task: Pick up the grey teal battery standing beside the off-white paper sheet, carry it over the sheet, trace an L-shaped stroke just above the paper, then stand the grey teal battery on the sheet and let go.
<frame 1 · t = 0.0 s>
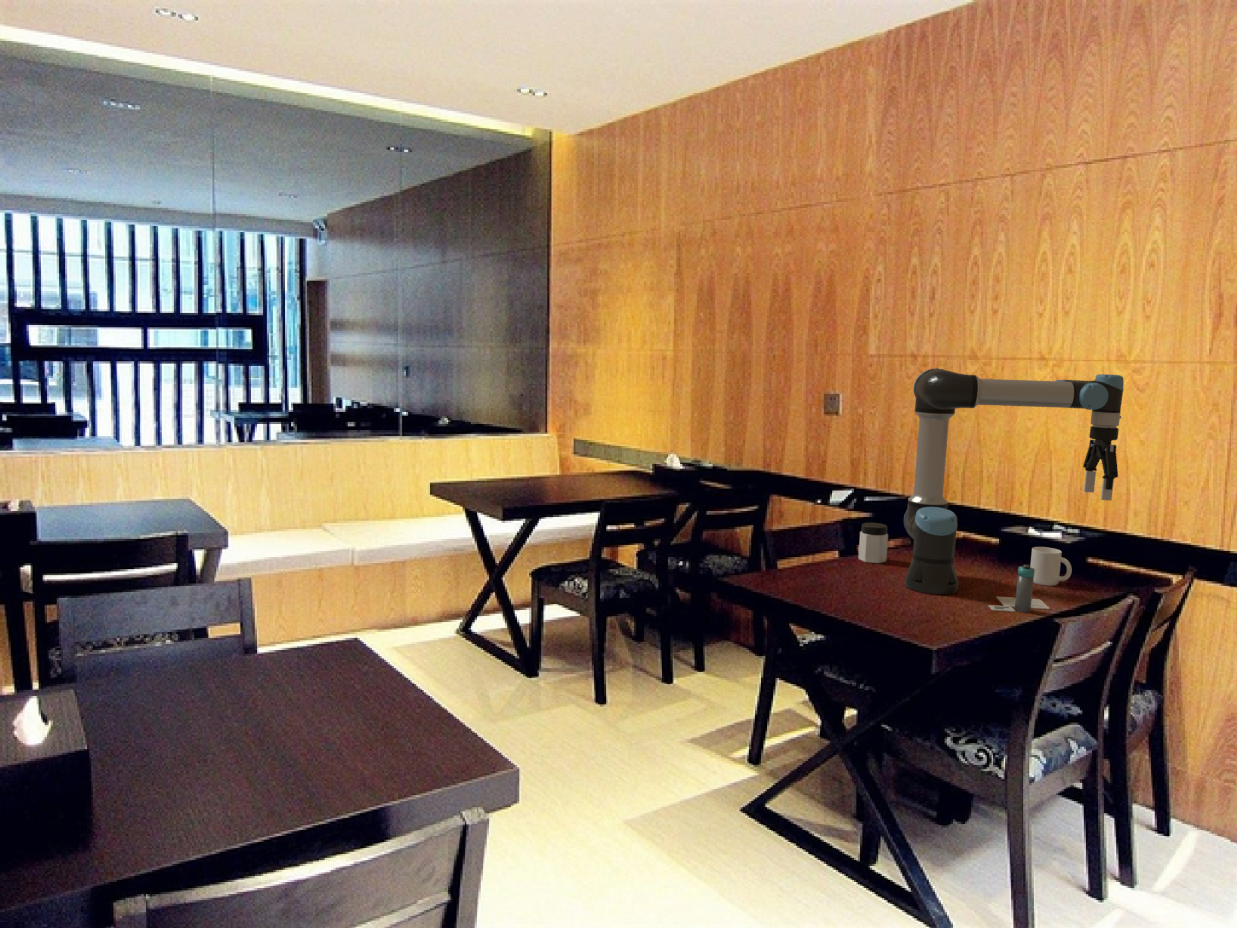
hand: (1097, 496, 272), 28 cm above the table, fingers open, 13 cm apart
paper: (1022, 603, 256), on the table
word card: (1001, 608, 250), on the table
grey teal battery: (1022, 610, 249), on the table
mug: (1049, 584, 277), on the table
jar: (872, 560, 301), on the table
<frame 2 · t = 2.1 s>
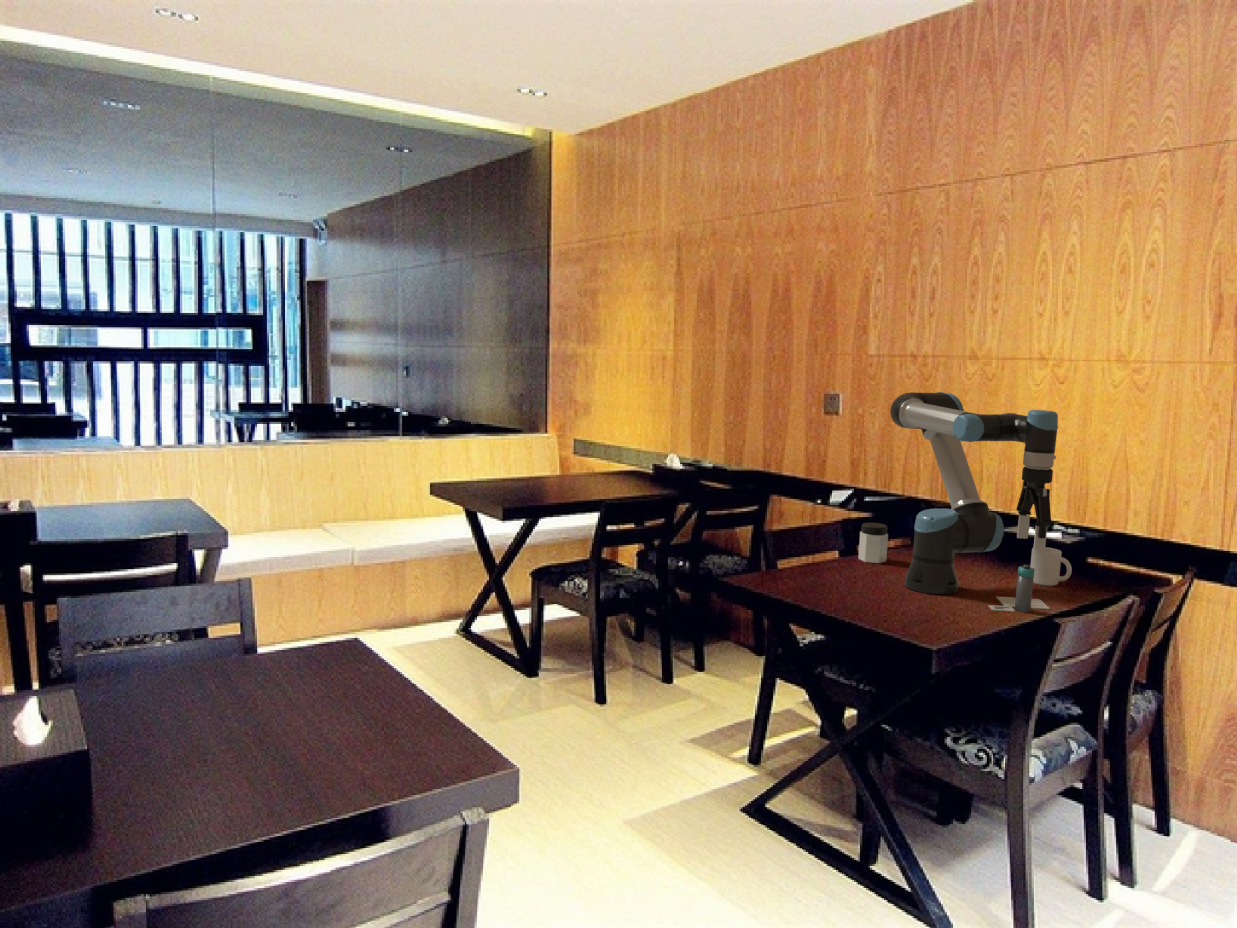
hand: (1030, 543, 247), 19 cm above the table, fingers open, 13 cm apart
nothing on the table moved.
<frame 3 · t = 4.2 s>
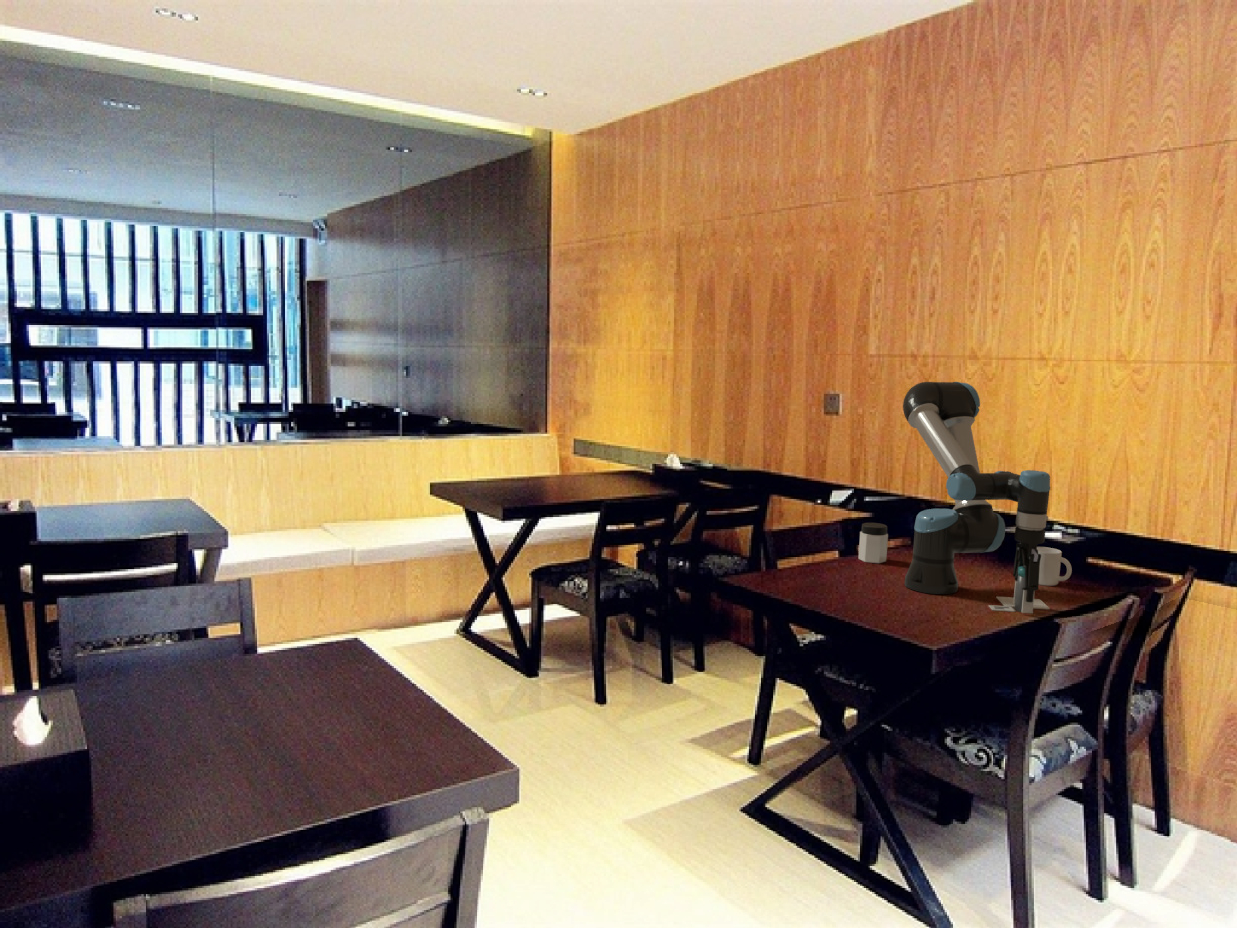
hand: (1022, 608, 249), 1 cm above the table, fingers open, 7 cm apart
nothing on the table moved.
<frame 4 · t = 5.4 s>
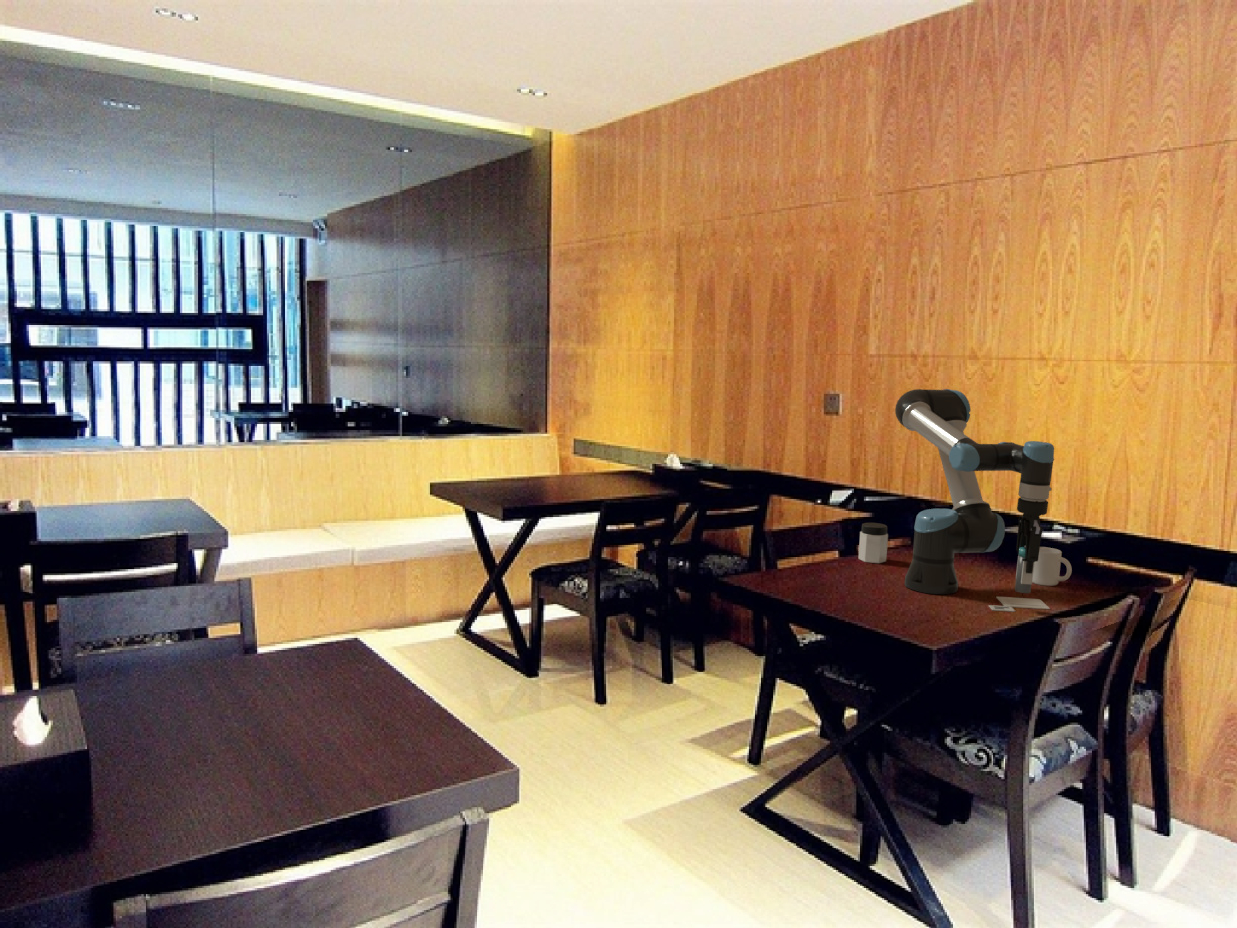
hand: (1023, 581, 249), 8 cm above the table, fingers closed on grey teal battery, 4 cm apart
grey teal battery: (1022, 590, 249), point 5 cm above the table, touching gripper
everything else where it was.
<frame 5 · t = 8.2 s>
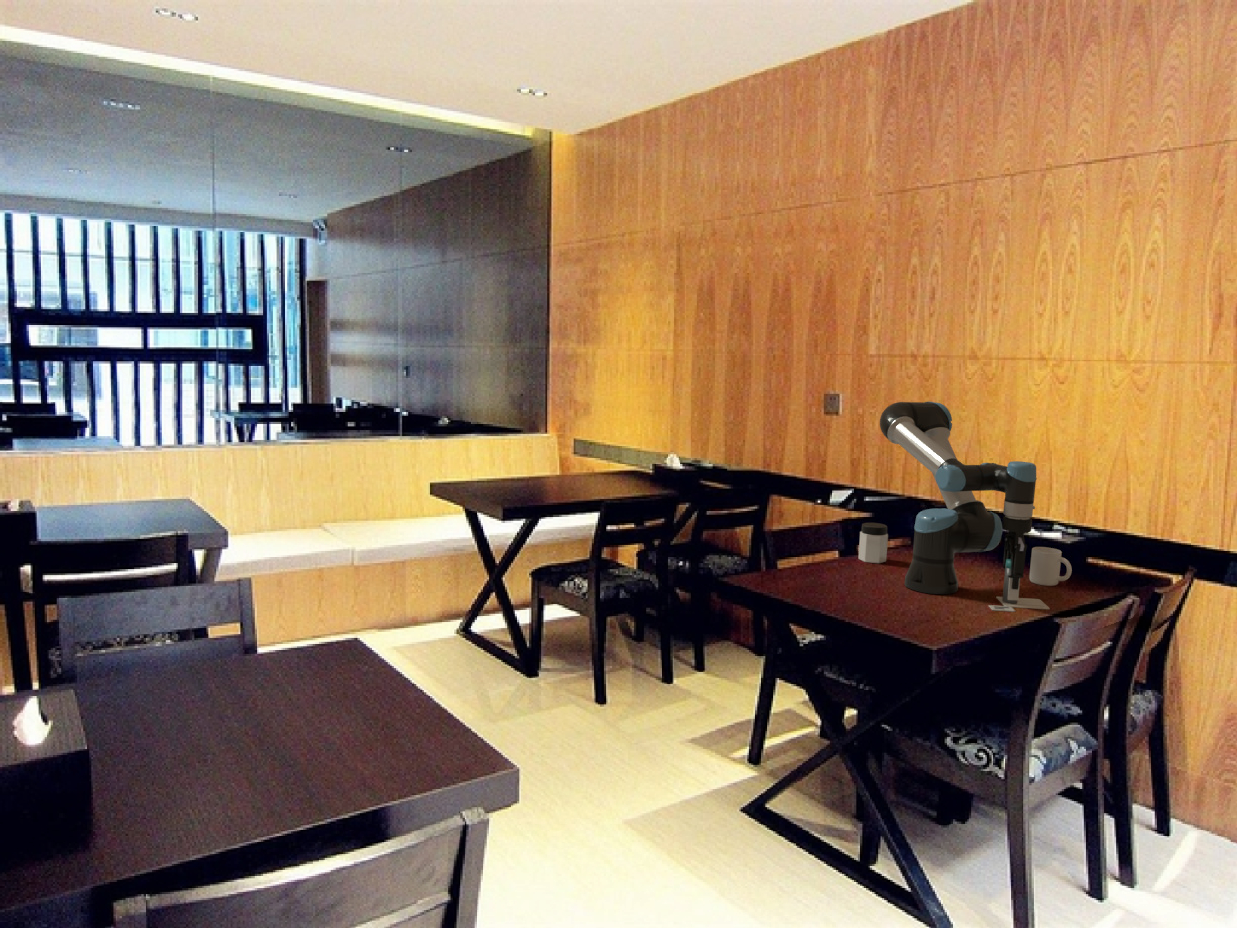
hand: (1010, 597, 256), 2 cm above the table, fingers closed on grey teal battery, 4 cm apart
grey teal battery: (1009, 601, 256), resting on paper, touching gripper
everything else where it was.
when the fingers open (1 cm above the table, at t = 11.4 s): grey teal battery stays where it is, resting on paper.
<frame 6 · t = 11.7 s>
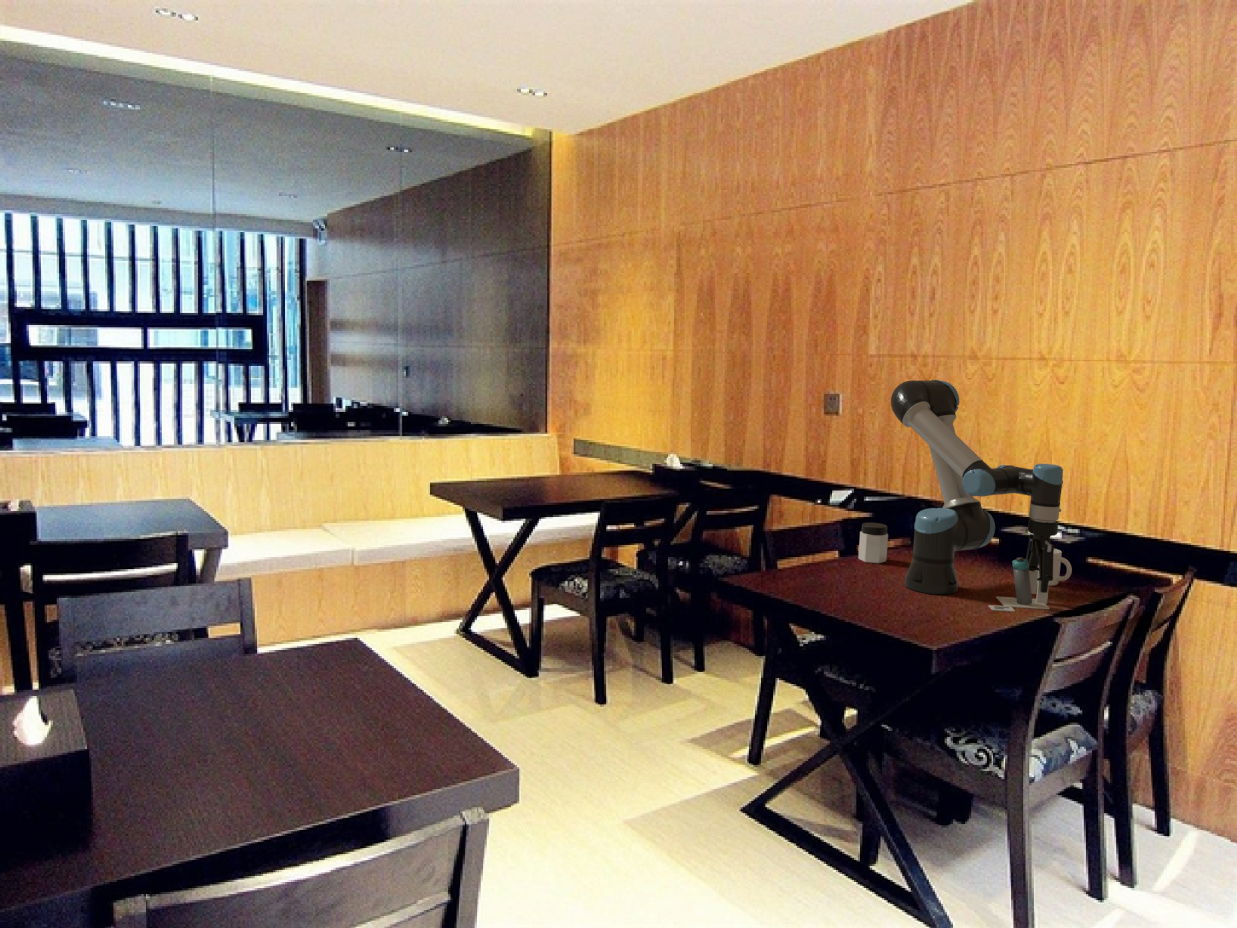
hand: (1035, 597, 254), 2 cm above the table, fingers open, 9 cm apart
grey teal battery: (1024, 602, 255), point 1 cm above the table, tilted 10°, touching paper
everything else where it was.
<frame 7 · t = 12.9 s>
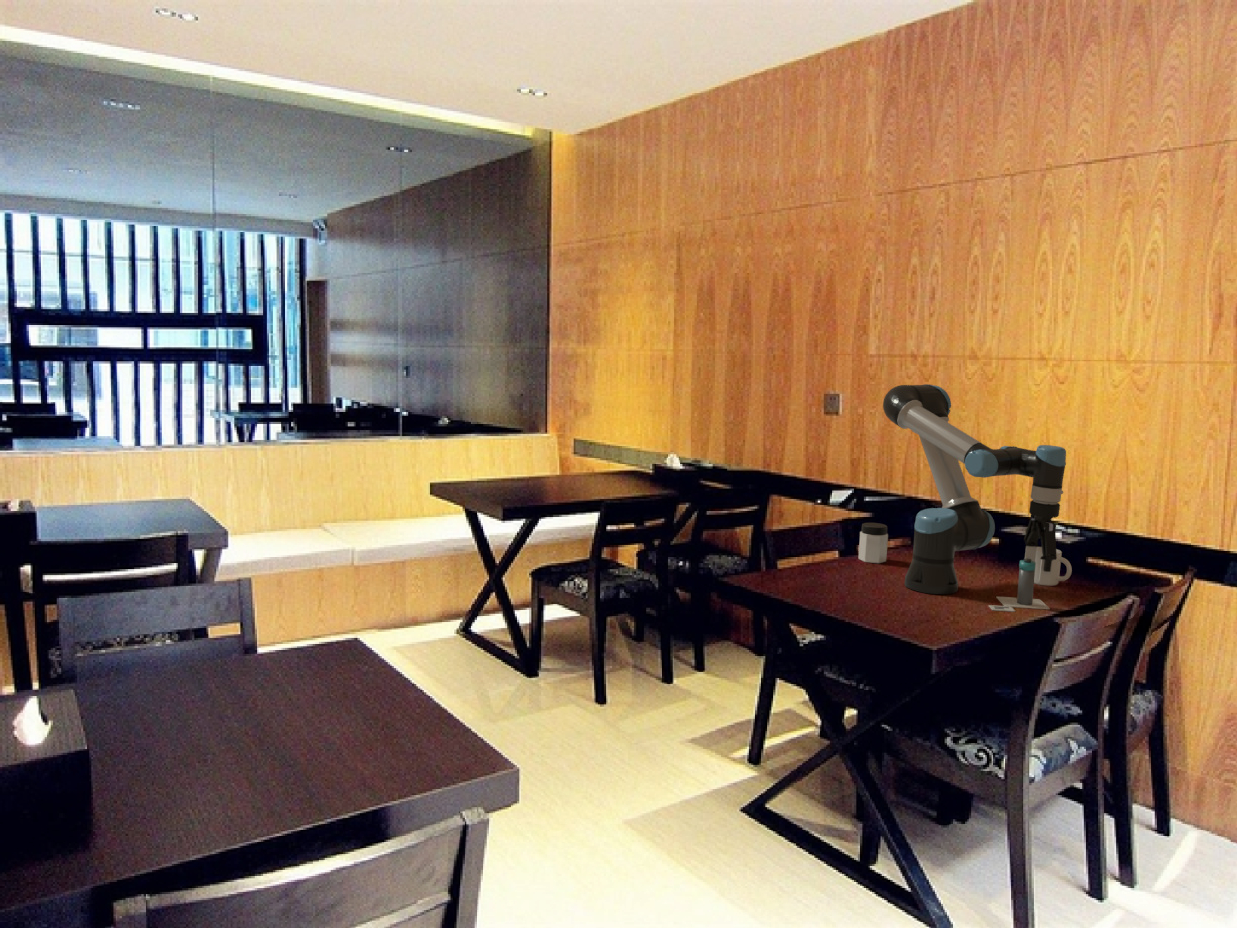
hand: (1036, 575, 253), 9 cm above the table, fingers open, 13 cm apart
grey teal battery: (1024, 602, 255), resting on paper
everything else where it was.
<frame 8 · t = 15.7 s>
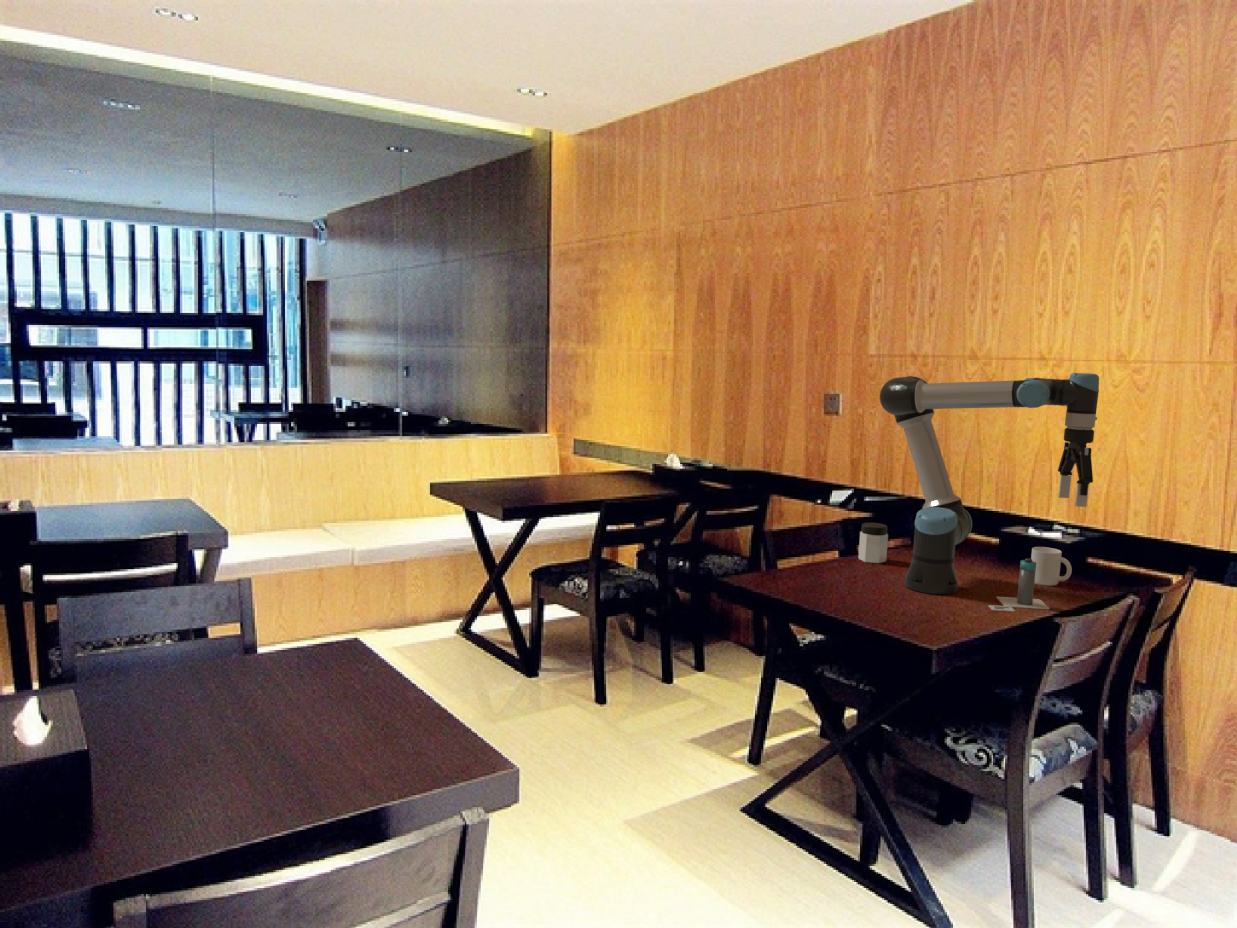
hand: (1072, 502, 257), 29 cm above the table, fingers open, 13 cm apart
nothing on the table moved.
at the end: grey teal battery inside the target area on the paper (0.9 cm from its centre), point 0.3 cm above the paper's base; grey teal battery tilted 1°; the gripper is holding nothing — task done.
